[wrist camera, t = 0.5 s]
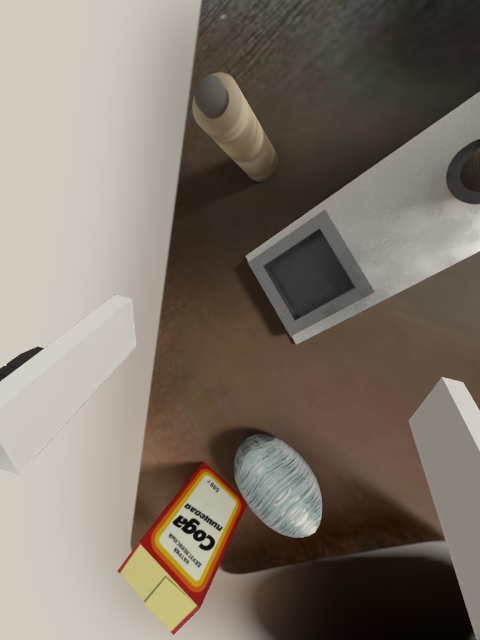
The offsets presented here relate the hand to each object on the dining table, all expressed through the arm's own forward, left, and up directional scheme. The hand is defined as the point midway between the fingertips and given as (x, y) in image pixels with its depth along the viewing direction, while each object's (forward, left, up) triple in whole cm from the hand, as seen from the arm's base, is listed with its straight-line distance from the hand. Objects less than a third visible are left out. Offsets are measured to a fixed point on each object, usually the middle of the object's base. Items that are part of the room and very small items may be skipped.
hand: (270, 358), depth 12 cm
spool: (+17, +18, -27) cm, 36 cm away
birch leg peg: (-2, -20, -26) cm, 33 cm away
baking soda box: (+31, +19, -27) cm, 45 cm away
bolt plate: (-10, -4, -26) cm, 29 cm away
